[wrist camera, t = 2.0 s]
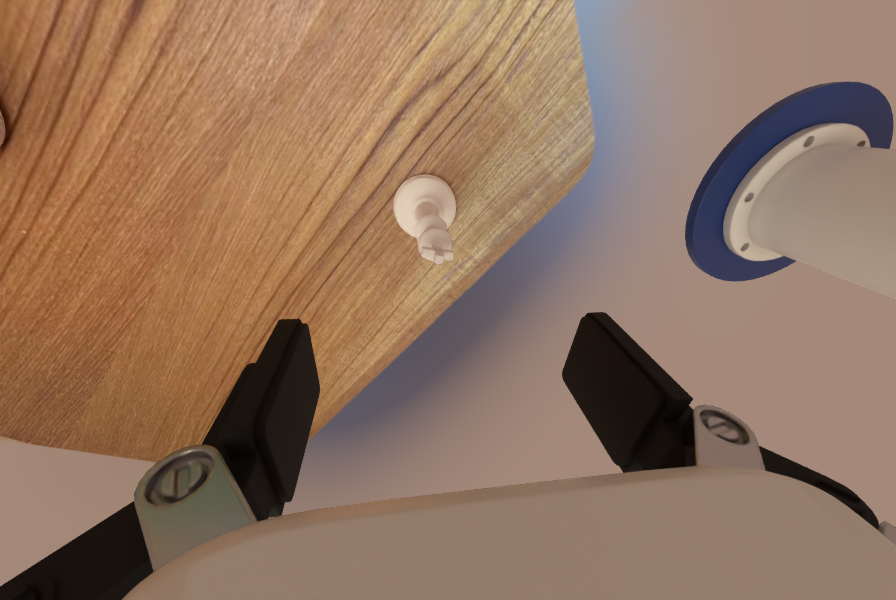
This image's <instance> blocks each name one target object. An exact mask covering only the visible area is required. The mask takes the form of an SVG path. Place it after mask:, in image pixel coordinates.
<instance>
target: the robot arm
mask: <svg viewBox="0 0 896 600" xmlns="http://www.w3.org/2000/svg"><path fill="white" fill-rule="evenodd" d="M723 236H724V241H725V243H726V245H727V247H728V248H729V249H730V250H731V251H732V252H733V253H734V254H736V255H738V256H740V257H742V258H745V259H748V260H752V261H766V260H772V259H776V258H779V257H782V256H786V257H788V258H791V259H793V260H796V261H798V262H801V263H804V264H806V265H809V266H811V267H814V268H816V269H819V270H821V271H824V272H826V273H829V274H832V275H834V276H837V277H839V278H842V279H844V280H847V281H849V282H852V283H854V284H857V285H859V286H862V287H864V288H867V289H870V290H872V291H875V292H877V293H880V294H882V295H885V296H888V297H890V298H893V299H895V300H896V150H894V149H883V148H872V147H870V142H869V139H868V137H867V135H866V134H865V132H864V131H863V130H861V129H860V128H859V127H857V126H854V125H851V124H847V123H824V124H817V125H814V126H811V127H808V128H805V129H803V130H801V131H799V132H797V133H795V134H793V135H791V136H789V137H787V138H786V139H785V140H783V141H782V142H780V143H779V144H777V145H776V146H775V147H773V148H772V149H771V150H770V151H769V152H768V153H766V154H765V155H764V156H763V157H762V158H761V159H760V160H759V161H758V162H757V163H756V164H755V165H754V166H753V167H752V168H751V169H750V170H749V172H748V173H747V174H746V176H745V177H744V178H743V180H742V181H741V182H740V184H739V185H738V187H737V189H736V190H735V192H734V194H733V196H732V197H731V200H730V202H729V204H728V207H727V209H726V213H725V217H724V221H723ZM562 377H563V380H564V382H565V384H566V386H567V387H568V389H569V390H570V392H571V394H572V395H573V397H574V399H575V400H576V402H577V404H578V405H579V407H580V408H581V410H582V412H583V413H584V415H585V417H586V418H587V420H588V421H589V423H590V425H591V426H592V428H593V430H594V431H595V433H596V434H597V436H598V438H599V439H600V441H601V443H602V444H603V446H604V448H605V449H606V451H607V453H608V454H609V456H610V457H611V459H612V461H613V462H614V463H615V464H616V465H618V466H620V468H621V469H622V471H623V473H618V474H608V475H600V476H590V477H581V478H571V479H563V480H554V481H546V482H536V483H527V484H520V485H519V484H518V485H510V486H501V487H493V488H483V489H475V490H466V491H458V492H449V493H441V494H432V495H424V496H416V497H407V498H400V499H391V500H382V501H374V502H367V503H360V504H353V505H346V506H338V507H330V508H323V509H316V510H310V511H304V512H299V513H294V514H288V515H283V516H281V515H282V511H283V508H284V504H285V502H290V501H291V500H292V498H293V495H294V492H295V487H296V484H297V480H298V476H299V472H300V468H301V464H302V460H303V456H304V453H305V449H306V445H307V441H308V437H309V433H310V429H311V425H312V421H313V418H314V414H315V410H316V406H317V402H318V398H319V393H320V384H319V379H318V374H317V368H316V363H315V358H314V353H313V348H312V343H311V338H310V333H309V327H308V325H307V324H306V323H305V324H302V322H301V320H300V319H281V320H279V321H278V322H277V324H276V326H275V328H274V330H273V332H272V334H271V336H270V337H269V339H268V341H267V343H266V345H265V347H264V349H263V351H262V352H261V354H260V356H259V358H258V360H257V362H256V363H250V364H248V365H247V366H246V367H245V369H244V370H243V372H242V374H241V375H240V377H239V379H238V381H237V382H236V384H235V386H234V388H233V390H232V391H231V393H230V395H229V397H228V398H227V400H226V402H225V404H224V405H223V407H222V409H221V411H220V413H219V414H218V416H217V418H216V420H215V421H214V423H213V425H212V427H211V428H210V430H209V432H208V434H207V436H206V437H205V439H204V441H203V443H202V444H201V445H193V446H189V447H185V448H182V449H180V450H177V451H175V452H173V453H171V454H169V455H168V456H166V457H164V458H163V459H161V460H160V461H158V462H157V463H156V464H155V465H154V466H153V467H152V468H150V469H149V470H148V471H147V472H146V474H145V475H144V476H143V478H142V479H141V480H140V482H139V483H138V486H137V488H136V490H135V493H134V501H133V502H132V503H130V504H129V505H127V506H126V507H124V508H122V509H121V510H119V511H118V512H116V513H115V514H113V515H111V516H110V517H108V518H107V519H105V520H104V521H102V522H100V523H99V524H97V525H96V526H94V527H93V528H91V529H90V530H88V531H86V532H85V533H83V534H82V535H80V536H78V537H77V538H75V539H74V540H72V541H71V542H69V543H68V544H66V545H65V546H63V547H61V548H60V549H58V550H57V551H55V552H53V553H52V554H50V555H49V556H47V557H46V558H44V559H43V560H41V561H40V562H38V563H36V564H35V565H33V566H32V567H30V568H28V569H27V570H25V571H24V572H22V573H21V574H19V575H17V576H16V577H14V578H13V579H11V580H10V581H8V582H7V583H5V584H3V585H2V586H0V600H896V527H894V526H893V525H891V524H889V523H888V522H886V521H884V522H882V523H880V524H879V523H878V520H877V518H876V516H875V515H874V513H873V511H872V510H871V509H870V508H869V507H868V506H867V505H866V504H865V502H864V501H862V500H861V499H860V498H859V497H858V496H857V495H856V494H855V493H854V492H853V491H851V490H850V489H849V488H847V487H845V486H844V485H842V484H840V483H838V482H836V481H834V480H832V479H830V478H828V477H826V476H824V475H822V474H820V473H818V472H815V471H813V470H811V469H809V468H807V467H804V466H802V465H800V464H798V463H796V462H793V461H791V460H789V459H787V458H785V457H782V456H780V455H778V454H776V453H774V452H772V451H769V450H767V449H765V448H763V447H761V446H759V445H758V442H757V439H756V437H755V434H754V432H753V431H752V430H751V429H750V428H749V427H748V426H747V425H746V424H745V423H744V422H743V421H741V420H740V419H739V418H737V417H736V416H734V415H733V414H731V413H729V412H727V411H725V410H723V409H721V408H718V407H714V406H709V405H701V406H697V407H696V408H695V409H694V410H693V409H692V408H691V407H690V406H689V404H690V403H691V401H692V400H693V398H692V397H691V396H690V395H689V394H688V393H687V392H686V391H685V390H684V389H683V388H682V387H681V386H680V385H679V384H677V382H676V381H674V380H673V379H672V377H671V376H669V375H668V374H667V373H666V372H665V371H664V370H663V369H662V368H661V367H660V366H659V365H658V364H657V363H656V362H655V361H654V360H653V359H652V358H651V357H650V356H649V355H648V354H647V353H646V352H645V351H644V350H643V349H642V348H641V347H640V346H639V345H638V344H637V343H636V342H635V341H634V340H633V339H632V338H631V337H630V336H629V335H628V334H627V333H626V332H625V331H624V330H623V329H622V328H621V327H620V326H619V325H618V324H617V323H616V322H615V321H614V320H612V318H611V317H610V316H609V315H608V314H606V313H603V312H595V313H587V314H586V315H585V317H583V318H582V319H581V321H580V323H579V326H578V329H577V332H576V334H575V337H574V340H573V343H572V346H571V349H570V351H569V354H568V357H567V360H566V363H565V366H564V368H563V371H562ZM269 517H274V518H270V519H268V518H269Z"/></svg>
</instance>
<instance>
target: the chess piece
mask: <svg viewBox="0 0 896 600" xmlns="http://www.w3.org/2000/svg"><path fill="white" fill-rule="evenodd" d="M393 209H394V214H395V217H396V220H397V222H398V223H399V225H400V226H401V228H402V229H403V230H404V231H405V232H406V233H408V234H409V235H411V236H413V237H416V238H417V240H418V250H419V252H420V254H421V255H422V257H424V258H425V259H427V260H430V261H434V263H438V264H443V259H444V260H452V259H453V254H454V253H453V250H451V249H452V239H451V237H450V235H449V234H448V228H449V227H450V226H451V224H452V222H453V220H454V218H455V214H456V201H455V197H454V194H453V192H452V190H451V188H450V187H449V186H448V184H447V183H446V182H444V181H443V180H442V179H440V178H438V177H436V176H433V175H427V174H422V175H416V176H413V177H411V178H409V179H408V180H406V181H405V182H404V183H403V184H402V185H401V186H400V187H399V189H398V190H397V192H396V194H395V198H394V203H393Z"/></svg>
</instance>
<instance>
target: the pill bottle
mask: <svg viewBox="0 0 896 600" xmlns="http://www.w3.org/2000/svg"><path fill="white" fill-rule="evenodd" d="M4 138H5V123H4V119H3V116H2V113H1V111H0V147H1V145H2V143H3V141H4Z"/></svg>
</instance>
